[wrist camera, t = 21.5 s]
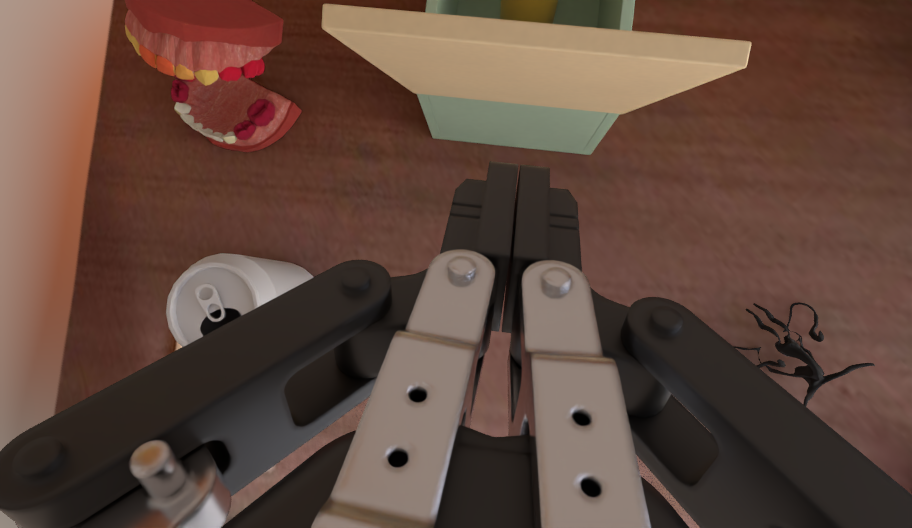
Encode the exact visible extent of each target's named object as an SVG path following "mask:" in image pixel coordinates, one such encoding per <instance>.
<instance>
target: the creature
mask: <svg viewBox="0 0 912 528" xmlns="http://www.w3.org/2000/svg"><path fill="white" fill-rule="evenodd" d="M798 304H802V305H806V306H808V307H809V308H810V309H812V310H813V311H814V325H813V327H812V328H811V329H810V332H809V335H810V336H811V338H812V339H814V340H816V341H818V342H821V341H823V340H824V335H823V334H822V332H821V331H819V336H817V334H816V333H815V329H816V328H817V326H818V316H817V314H816V312H815V310H814V309H813V308H812V307H811V306H809V305H807V304H805V303H794V304H792V305H791V307H790V316H789V322H788V324H787V326H786V325H785V324H783V323H782V322H781V321H779V320H777V319H775V318H774V317H773V315H772V314H771V313H770V312H769V311H768V310H767V309H764V308H762V307H760V306H758V305H757V304H755V303H754V304H753V305H755V306H756V307H758V308H759V309H761V310H763V311H764V312H765V313H766V315H767V316H768V318H769V319H770V320H771V321H772V322H773V323H776V324H778V325H780V326H781V327H783V328H784V331H783V332H786V331H787V332H788V333H789V331H790V330H789V329H788V326H789V323H790V320H791V316H792V308H793V306H794V305H798ZM746 311H748V312H749V313H751V314H752V315H754V317H755V319H756V320H757V323H758V325H759V327H760V328H761V329H763V330H767V331H769V332H771V333H772V334H774V335H775V336H776V337H778V339H779V341H778V342H776V343H775V347H776V349H777V350H778V351H779V352H780V353H782V354H784V355H786V356H791V357H795V358H798V359H800V360H802V361H803V362H805V363H806V364H808V365H807V366H799V367H796V368H795V373H794V374H788V373H784V372H781V371H778V370H775V369H772V368H770V367H769V366H767V365H772V366H776V367H785V366H786V365H785V363H784V362H783V361H782V360H780V359H779V360H777V362H778V363H776V362H774V361H766V362H763V363H761V362H760V363H761V364H759V365H756V366H757V367H758V368H761V367H763V366H766V367H767V368H768V370H769V371H770V372H773V373H777V374H782V375H787V376H793V377H802V378H804V379H805V380H806V381H807V382H808V384H809V387H808V390H807V395H806V397H805V399H804V406H805V407H806V406H807V403H808V401H809V400H810V399H811V398H812V397H813V395H814V393H815V392H816V390H817V389H818V388H819V387H820V386H822V385H823V384H825V383H826V382H828V381H831V380H833V379H836V378H838V377H840V376H843V375H845V374H847V373H849V372H851V371H853V370H855V369H858V368H861V367H865V366H875V365H874V364H873V363H862V364H856V365H852V366H849V367H847V368H846V369H844V370H843V371H841V372H838V373H834V374H830V375H827V376H823V375H824V372H823V370H822V369H821V367H820V366H819V365H818V364H817V363H816V361H815V360H814V358H813V356H812V354H811V352H810V351H809V350H807V349H805V348H804V347H803V344H802V337H801V336H800V335H799V334H798V333H796V332H795V333H796V334H798V335H799V339H798V340H797V341H800V344H801V345H800V346H799V345H798V344H797V343H796V342H795V341H794V340H793V339H791V338H790V337H789V336H790V334H788V335H787V336H785V337H784V340H785V343H784V344H781V343H780V338H779V336H778V333H777V332H776V331H775V330H774V329H772V328H770V327H768V326H766V325H764V324H763V323H762V321H761V319H760V318H759V317H758V316H757V315H755V314H754V313H753V312H751V311H750V310H748V309H746ZM792 332H793V331H792ZM800 337H801V339H800ZM734 348H739V349H742V350H757V351H758V354H759V350H760V348H761V347H759V348H752V349H747V348H741V347H734ZM806 352H807V353H808V354H809V355H808V354H807V353H806ZM758 358H759V357H758ZM759 361H760V359H759Z"/></svg>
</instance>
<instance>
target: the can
mask: <svg viewBox="0 0 912 528" xmlns="http://www.w3.org/2000/svg"><path fill="white" fill-rule="evenodd" d="M312 278H313V276H312V275H311V274H310V273H309V272H308V271H306V270H305V269H304V268H302V267H300V266H298V265H295V264H293V263H289V262H283V261H277V260H270V259H264V258H257V257H251V256H244V255H238V254H225V253H220V254H216V255H212V256H208V257H205V258H203V259H201V260H200V261H198V262H197V263H195V264H193V265H192V266H190V267H189V269H188V270H187V271H185V272H184V273H183V274H182V275H181V276H180V277H179V278H178V279H177V281H176V282H175V283H174V284H173V287H172V289H171V291H170V294H169V296H168V300H167V309H166V315H167V320H168V326H169V329H170V331H171V332H172V334H173V336H174V338H175V340H176V341H177V342H178V343H179V344H180V345H181V346H182V347H184V346H186V345H188V344H190V343H191V342H193V341H195V340H197V339H199V338H201V337H203V336H205V335H207V334H208V333H210V332H212V331H214V330H216V329H218V328H220V327H222V326H223V325H225V324H227V323H229V322H231V321H233V320H235V319H237V318H238V317H240V316H242V315H244V314H246V313H248V312H250V311H252V310H253V309H255V308H257V307H259V306H261V305H263V304H265V303H267V302H268V301H270V300H272V299H274V298H276V297H278V296H280V295H282V294H283V293H285V292H287V291H289V290H291V289H293V288H295V287H297V286H298V285H300V284H302V283H304V282H306V281H308V280H310V279H312Z"/></svg>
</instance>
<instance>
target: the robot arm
mask: <svg viewBox="0 0 912 528" xmlns="http://www.w3.org/2000/svg"><path fill="white" fill-rule="evenodd" d="M517 172H518V164H510V163H501V162H491V161H490V163H489V168H488V174H487V180H486V181H483V180H474V179H466V180H465V181H464V182H463V183H462V184H461V185H460V186H459V187H458V188H457V189H456V190H455V194H454V198H453V203H452V207H451V211H450V216H449V219H448V223H447V227H446V231H445V235H444V239H443V244H442V248H441V252H440V255H438V256H437V257H435V258H434V259H433V260H432V262H431V263H430V265H429V268H428V269H426V270H424V271H422V272H420V273H416V274H413V275H407V276H399V277H390V275H389V273H388V272H387V270H386V269H385V268H384V267H382V266H381V265H379V264H377V263H375V262H372V261H367V260H351V261H346V262H343V263H340V264H338V265H336V266H334V267H332V268H330V269H328V270H327V271H325V272H323V273H321V274H319V275H317V276H315V277H313V278H312V279H310V280H308V281H306V282H304V283H302V284H300V285H298V286H297V287H295V288H293V289H291V290H289V291H287V292H285V293H283V294H282V295H280V296H278V297H276V298H274V299H272V300H270V301H268V302H267V303H265V304H263V305H261V306H259V307H257V308H255V309H253V310H252V311H250V312H248V313H246V314H244V315H242V316H240V317H238V318H237V319H235V320H233V321H231V322H229V323H227V324H225V325H223V326H222V327H220V328H218V329H216V330H214V331H212V332H210V333H208V334H207V335H205V336H203V337H201V338H199V339H197V340H195V341H193V342H191V343H190V344H188V345H186V346H184V347H182V348H180V349H178V350H176V351H175V352H173V353H171V354H169V355H167V356H165V357H163V358H161V359H160V360H158V361H156V362H154V363H152V364H150V365H148V366H146V367H145V368H143V369H141V370H139V371H137V372H135V373H133V374H131V375H130V376H128V377H126V378H124V379H122V380H120V381H118V382H116V383H115V384H113V385H111V386H109V387H107V388H105V389H103V390H101V391H100V392H98V393H96V394H94V395H92V396H90V397H88V398H86V399H85V400H83V401H81V402H79V403H77V404H75V405H73V406H71V407H70V408H68V409H66V410H64V411H62V412H60V413H58V414H56V415H55V416H53V417H51V418H49V419H47V420H45V421H43V422H42V423H40V424H38V425H36V426H34V427H32V428H30V429H28V430H27V431H25V432H23V433H22V434H20V435H19V436H17V437H16V438H15V439H13V440H12V441H11V442H10V443H9V444H7V445H6V446H5V447H4V448H3V449H2V450H1V451H0V511H2V512H3V513H4V514H6V515H7V516H8V517H10V518H11V519H12V520H13V521H15V523H16V525H17V527H18V528H689V527H688V526H687V524H686V523H685V522H684V521H683V519H682V518H681V517H680V516H679V515H678V513H677V512H676V511H675V510H674V508H673V507H672V506H671V505H670V504H669V502H668V501H667V500H666V499H665V498H664V497H663V496H662V495H661V494H660V493H659V492H658V491H657V490H656V489H655V488H654V487H653V486H652V485H651V484H650V483H649V482H647V481H646V480H645V479H644V478H642V477H641V476H640V472H639V467H638V462H637V458H636V455H637V456H638V457H639V458H640V459H641V460H642V461H643V463H644V464H645V465H646V466H647V467H648V468H649V469H650V471H651V472H652V473H653V474H654V475H655V476H656V477H657V479H658V480H659V481H660V482H661V483H662V484H663V485H664V487H665V488H666V489H667V490H668V491H669V492H670V493H671V495H672V496H673V497H674V498H675V499H676V500H677V501H678V503H679V504H680V505H681V506H682V507H683V508H684V509H685V511H686V512H687V513H688V514H689V515H690V516H691V517H692V519H693V520H694V521H695V522H696V523H697V524H698V525H699V527H700V528H912V495H911V494H910V493H909V492H908V491H907V490H905V489H904V488H903V487H902V486H900V485H899V484H898V483H897V482H896V481H894V480H893V479H892V478H891V477H890V476H888V475H887V474H886V473H885V472H884V471H882V470H881V469H880V468H879V467H878V466H876V465H875V464H874V463H873V462H872V461H870V460H869V459H868V458H867V457H865V456H864V455H863V454H862V453H861V452H859V451H858V450H857V449H856V448H855V447H853V446H852V445H851V444H850V443H849V442H847V441H846V440H845V439H844V438H843V437H841V436H840V435H839V434H838V433H837V432H835V431H834V430H833V429H832V428H831V427H829V426H828V425H827V424H826V423H824V422H823V421H822V420H821V419H820V418H818V417H817V416H816V415H815V414H814V413H812V412H811V411H810V410H809V409H808V408H806V407H805V406H804V405H803V404H802V403H800V402H799V401H798V400H797V399H796V398H794V397H793V396H792V395H791V394H790V393H788V392H787V391H786V390H785V389H783V388H782V387H781V386H780V385H779V384H777V383H776V382H775V381H774V380H773V379H771V378H770V377H769V376H768V375H767V374H765V373H764V372H763V371H762V370H761V369H759V368H758V367H757V366H756V365H755V364H753V363H752V362H751V361H750V360H749V359H747V358H746V357H745V356H744V355H742V354H741V353H740V352H739V351H738V350H736V349H735V348H734V347H733V346H732V345H730V344H729V343H728V342H727V341H726V340H724V339H723V338H722V337H721V336H720V335H718V334H717V333H716V332H715V331H714V330H712V329H711V328H710V327H709V326H708V325H706V324H705V323H704V322H703V321H701V320H700V319H699V318H698V317H697V316H695V315H694V314H693V313H692V312H691V311H689V310H688V309H687V308H685V307H684V306H682V305H680V304H679V303H676V302H674V301H672V300H669V299H665V298H659V297H647V298H642V299H640V300H638V301H636V302H634V303H633V304H632V305H631V307H627V306H624V305H622V304H619V303H616V302H613V301H611V300H609V299H606V298H604V297H603V296H601V295H599V294H598V293H596V292H595V291H594V290H593V289H592V288H591V287H590V284H589V281H588V279H587V277H586V276H585V275H584V274H583V273H582V266H581V251H580V236H579V221H578V206H577V202H576V200H575V199H574V197H573V196H572V195H571V193H570V192H569V190H566V189H557V188H550V168H548V167H539V166H530V165H520V171H519V178H518V185H517V192H516V184H517ZM515 195H516V199H515ZM505 287H506V291H505ZM504 293H505V302H504V313H503V324H502V332H507V333H511V342H510V350H509V355H508V363H507V364H508V424H509V434H508V436H507V437H491V436H488V435H485V434H483V433H480V432H478V431H475V430H473V429H470V424H471V419H472V415H473V410H474V405H475V401H476V396H477V392H478V387H479V382H480V378H481V373H482V368H483V364H484V358H485V353H486V352H487V350H488V348H489V343H490V335H491V331H499V327H500V320H501V314H502V307H503V300H504ZM369 396H370V397H369ZM368 397H369V400H368V402H367V405H366V407H365V410H364V412H363V415H362V417H361V420H360V423H359V425H358V428H357V430H356V431H353V432H350V433H348V434H345V435H343V436H341V437H339V438H337V439H335V440H333V441H332V442H330V443H329V444H327V445H325V446H324V447H322V448H321V449H320V450H318V451H317V452H316V453H314V454H313V455H312V456H311V457H309V458H308V459H307V460H306V461H304V462H303V463H302V464H301V465H299V466H298V467H297V468H296V469H294V470H293V471H292V472H291V473H289V474H288V475H287V476H285V477H284V478H283V479H282V480H280V481H279V482H278V483H277V484H275V485H274V486H273V487H272V488H270V489H269V490H268V491H267V492H265V493H264V494H263V495H262V496H260V497H259V498H258V499H256V500H255V501H254V502H253V503H251V504H250V505H249V506H248V507H246V508H245V509H244V510H243V511H241V512H240V513H239V514H238V515H236V516H235V517H234V518H233V519H231V520H230V521H229V522H227V523H226V524H225V525H224V526H222V525H223V524H224V522H225V520H226V518H227V516H228V514H229V510H230V507H231V496H233V495H234V494H235V493H237V492H238V491H239V490H241V489H242V488H244V487H245V486H246V485H248V484H249V483H250V482H252V481H253V480H255V479H256V478H257V477H259V476H260V475H262V474H263V473H264V472H266V471H267V470H268V469H270V468H271V467H273V466H274V465H275V464H277V463H278V462H279V461H281V460H282V459H284V458H285V457H286V456H288V455H289V454H291V453H292V452H293V451H295V450H296V449H297V448H299V447H300V446H302V445H303V444H304V443H306V442H307V441H309V440H310V439H311V438H313V437H314V436H315V435H317V434H318V433H320V432H321V431H322V430H324V429H325V428H326V427H328V426H329V425H331V424H332V423H333V422H335V421H336V420H338V419H339V418H340V417H342V416H343V415H344V414H346V413H347V412H349V411H350V410H351V409H353V408H354V407H355V406H357V405H358V404H360V403H361V402H362V401H364V400H365V399H367V398H368ZM682 404H683V405H684V406H685V407H686V408H687V409H688V410H689V411H690V412H691V413H692V414H693V415H694V416H695V417H696V418H697V419H698V420H699V421H700V422H701V423H702V424H703V425H704V426H705V427H706V428H707V429H708V430H709V431H710V432H711V433H710V432H709V431H708V430H707V429H706V428H705V427H704V426H703V425H702V424H701V423H700V422H699V421H698V420H697V419H696V418H695V417H694V416H693V415H692V414H691V413H690V412H689V411H688V410H687V409H686V408H685V407H684V406H683V405H682Z"/></svg>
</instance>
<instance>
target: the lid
mask: <svg viewBox="0 0 912 528" xmlns="http://www.w3.org/2000/svg"><path fill="white" fill-rule="evenodd" d="M322 29H324V30H325V31H326V32H328V33H329V34H331V35H332V36H333V37H335V38H336V39H338V40H339V41H341V42H342V43H343V44H345V45H346V46H348V47H349V48H350V49H352V50H353V51H355V52H356V53H358V54H359V55H360V56H362V57H363V58H365V59H366V60H367V61H369V62H370V63H372V64H373V65H375V66H376V67H377V68H379V69H380V70H382V71H383V72H384V73H386V74H387V75H389V76H390V77H392V78H393V79H394V80H396V81H397V82H399V83H400V84H401V85H403V86H404V87H406V88H407V89H409V90H410V91H411V92H413V93H416V94H426V95H436V96H446V97H456V98H465V99H475V100H485V101H495V102H505V103H515V104H525V105H535V106H545V107H555V108H565V109H575V110H585V111H595V112H605V113H615V114H625V113H627V112H630V111H632V110H635V109H638V108H640V107H643V106H646V105H648V104H651V103H654V102H656V101H659V100H662V99H664V98H667V97H669V96H672V95H675V94H677V93H680V92H683V91H685V90H688V89H691V88H693V87H696V86H699V85H701V84H704V83H707V82H709V81H712V80H714V79H717V78H720V77H722V76H725V75H728V74H730V73H733V72H736V71H738V70H741V69H744V68H746V66H747V63H748V58H749V53H750V48H751V42H749V41H741V40H729V39H718V38H707V37H696V36H684V35H673V34H662V33H651V32H639V31H628V30H617V29H605V28H594V27H583V26H572V25H560V24H549V23H538V22H527V21H515V20H504V19H493V18H482V17H470V16H459V15H448V14H437V13H425V12H414V11H403V10H392V9H380V8H369V7H358V6H347V5H335V4H323V9H322Z"/></svg>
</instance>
